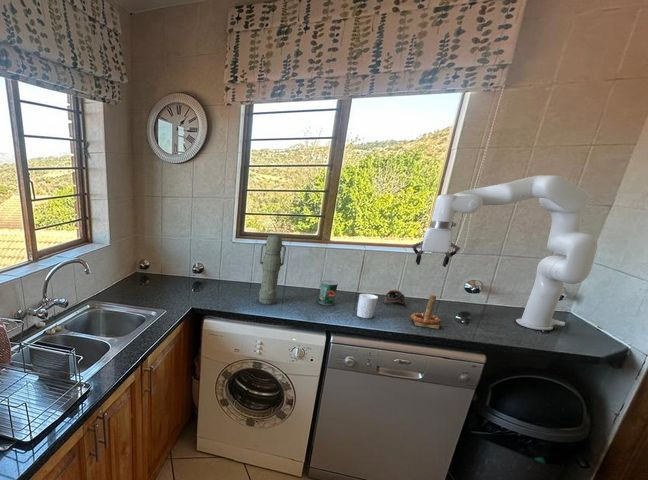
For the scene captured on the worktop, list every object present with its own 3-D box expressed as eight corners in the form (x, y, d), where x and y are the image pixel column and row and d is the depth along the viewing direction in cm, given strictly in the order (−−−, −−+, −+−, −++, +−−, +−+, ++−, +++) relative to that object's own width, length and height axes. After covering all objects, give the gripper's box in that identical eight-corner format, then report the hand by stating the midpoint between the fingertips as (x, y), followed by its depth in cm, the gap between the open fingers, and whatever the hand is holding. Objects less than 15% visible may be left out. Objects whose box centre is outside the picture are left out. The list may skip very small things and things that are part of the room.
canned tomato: (331, 306, 206) (335, 285, 202) (316, 303, 211) (319, 282, 207) (335, 302, 212) (339, 282, 208) (320, 299, 217) (323, 279, 213)
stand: (435, 322, 185) (443, 294, 180) (438, 328, 178) (447, 299, 173) (412, 319, 189) (420, 291, 184) (415, 325, 181) (422, 296, 176)
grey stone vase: (279, 305, 207) (288, 236, 194) (255, 303, 210) (263, 235, 197) (278, 300, 215) (287, 234, 202) (255, 298, 218) (263, 233, 205)
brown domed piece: (409, 307, 206) (407, 295, 202) (389, 314, 209) (387, 302, 205) (399, 295, 216) (397, 283, 212) (380, 301, 219) (377, 290, 215)
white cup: (363, 319, 188) (368, 299, 184) (351, 314, 195) (355, 294, 191) (377, 318, 190) (382, 297, 186) (364, 312, 197) (369, 293, 193)
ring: (437, 318, 185) (438, 314, 185) (441, 326, 176) (442, 322, 175) (408, 315, 190) (410, 311, 189) (411, 322, 181) (412, 318, 180)
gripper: (463, 225, 169) (453, 265, 175) (415, 223, 176) (407, 261, 182) (468, 227, 163) (456, 268, 169) (418, 225, 170) (408, 265, 176)
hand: (430, 265), depth 176 cm, fingers open, 9 cm apart
